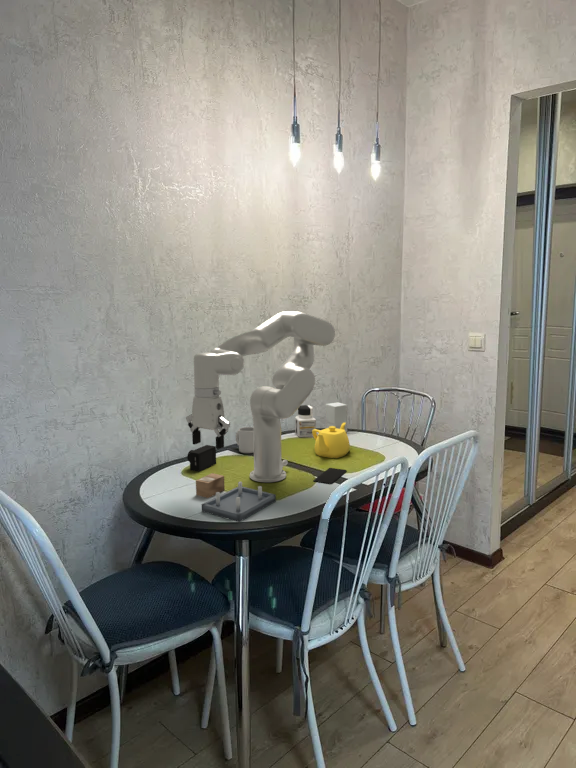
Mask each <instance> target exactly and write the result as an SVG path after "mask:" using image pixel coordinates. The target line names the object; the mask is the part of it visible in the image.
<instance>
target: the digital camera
mask: <svg viewBox="0 0 576 768" xmlns="http://www.w3.org/2000/svg"><path fill="white" fill-rule="evenodd" d="M186 457H187V458H186V459H187V461H188V462H189V470H190V471H192V472H196V473H197V472H199V473H200V472H201V473H202V471H204V470H206V469H209V468H211V467H213V466H215V465H217V449H216V445H209V444H205V445H203V446H201V447H198V448H196V449H190V450H189V451H188V453H187V456H186Z"/></svg>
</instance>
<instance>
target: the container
mask: <svg viewBox="0 0 576 768" xmlns="http://www.w3.org/2000/svg"><path fill="white" fill-rule="evenodd" d="M294 425H295V426H294V428H295V429H294V431H295V432H294V433H295V434H296V435H297V436H298V437H299V438H309V437H313V434H312V430H313V429H317V420H316V418H315V417H314V408H313V406H311V405H309V404H308V405H307V404H304V405H302V404H301V406H300V407H299V408H298V409H297V415H296V416H295V418H294Z"/></svg>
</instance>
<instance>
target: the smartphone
mask: <svg viewBox="0 0 576 768" xmlns="http://www.w3.org/2000/svg"><path fill="white" fill-rule="evenodd" d="M347 472H348V471H347V469H342V468H333V467H329V468H327V469H326V470H325V471H323V472H322V473H321V474H319V475H318V476H317V477H316V478H314V479H313V480H312V481H313V482H314V483H318V484H319V483H320V484H323V485H333V484H334V483H335V482H337V481H338V480H339V479H340V478H342V477H343V476H344V475H345V474H346V473H347Z"/></svg>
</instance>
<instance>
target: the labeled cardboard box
mask: <svg viewBox="0 0 576 768" xmlns="http://www.w3.org/2000/svg"><path fill="white" fill-rule="evenodd" d="M224 491H225V476H224V475H223V474H217V473H213V472H211V473H209V474H207V475H205V476H202V477H200V478H198V479H195V493H196V494H195V495H196V496H199V497H201V498H202V497H203V498H207V499H209V498H211V497H213V496H216V492H220V493H222V492H224Z"/></svg>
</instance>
